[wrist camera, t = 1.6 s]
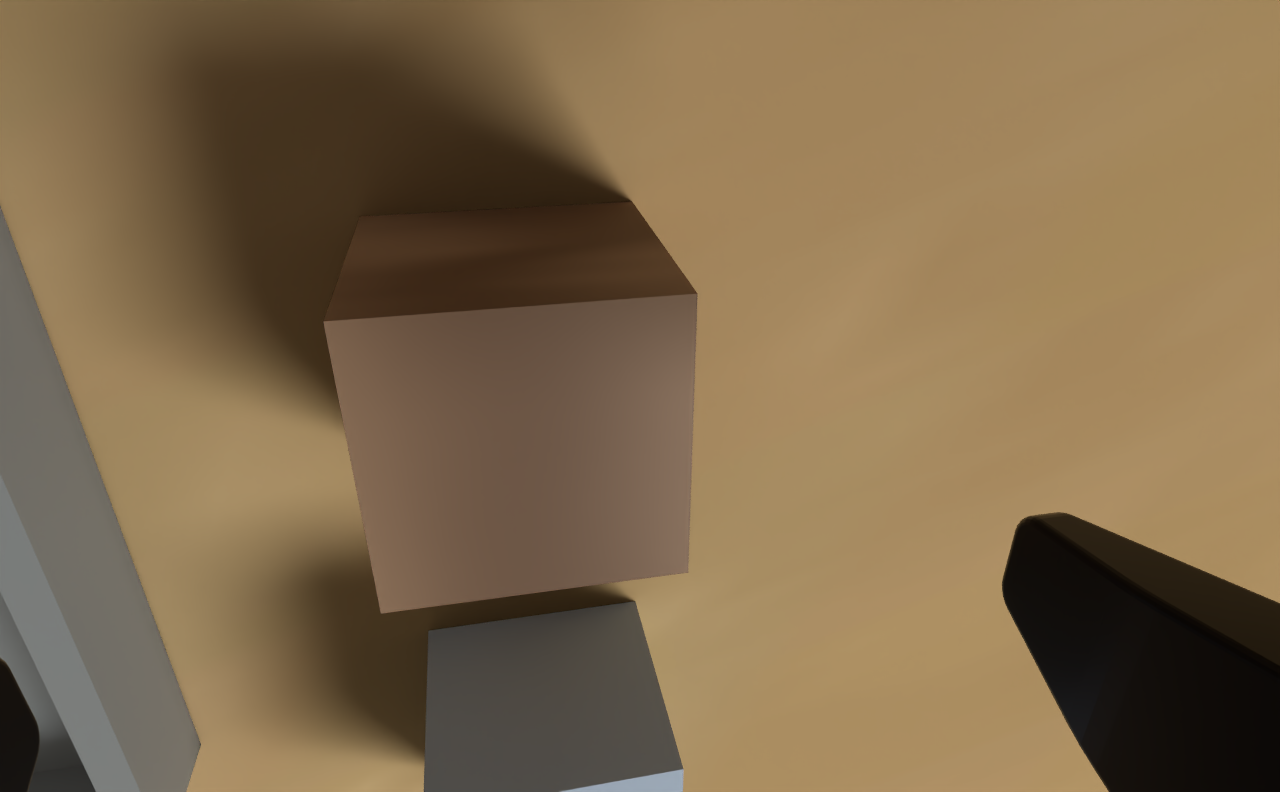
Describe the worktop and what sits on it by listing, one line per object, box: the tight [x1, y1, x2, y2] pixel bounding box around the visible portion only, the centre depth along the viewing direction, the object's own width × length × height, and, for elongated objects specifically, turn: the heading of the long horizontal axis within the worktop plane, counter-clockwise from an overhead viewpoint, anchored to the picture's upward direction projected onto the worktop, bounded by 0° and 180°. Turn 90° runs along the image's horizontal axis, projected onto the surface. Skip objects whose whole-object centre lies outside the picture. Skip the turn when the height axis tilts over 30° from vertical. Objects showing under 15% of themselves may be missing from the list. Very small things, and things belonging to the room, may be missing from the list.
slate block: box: [424, 601, 683, 792], centre depth 15 cm, size 4×4×4 cm
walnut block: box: [323, 201, 697, 613], centre depth 12 cm, size 4×4×4 cm
